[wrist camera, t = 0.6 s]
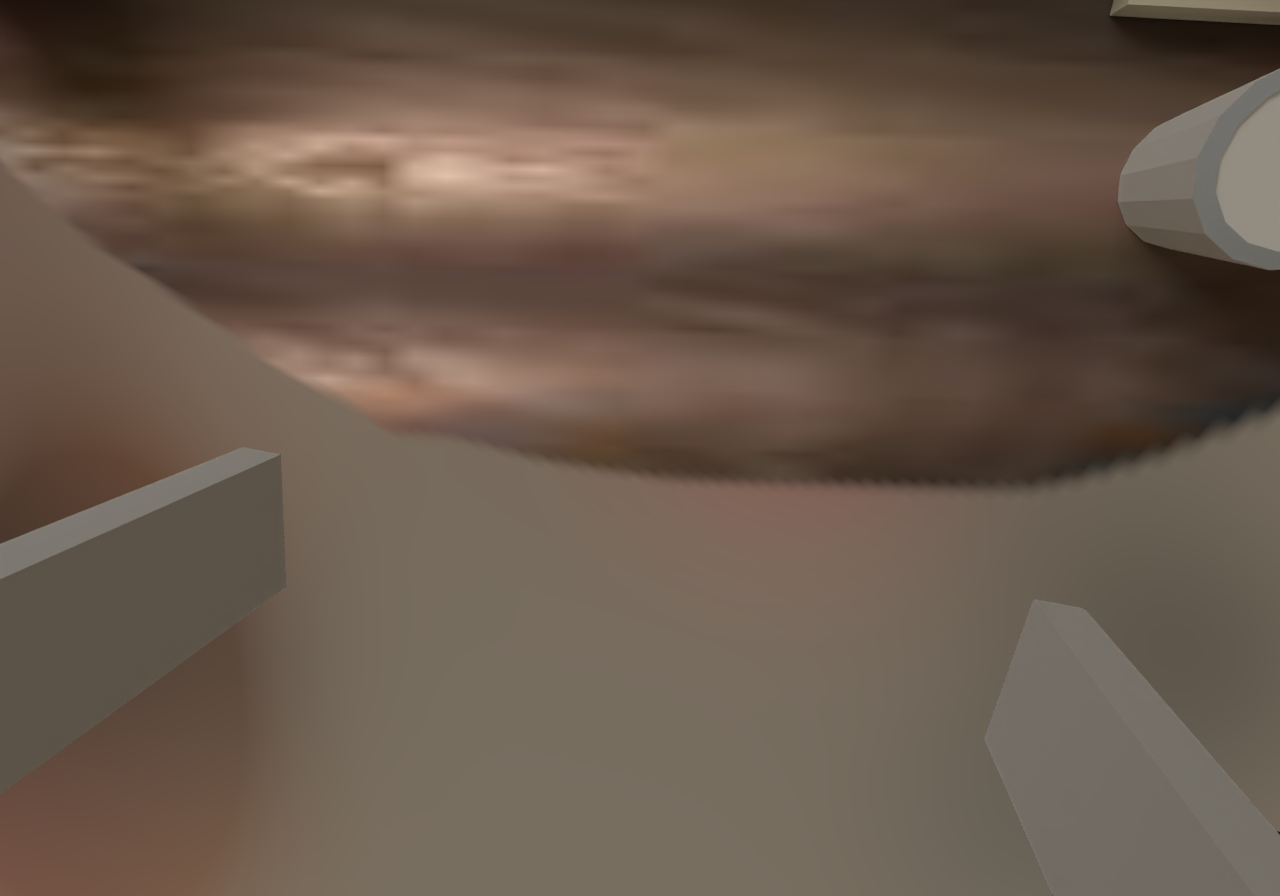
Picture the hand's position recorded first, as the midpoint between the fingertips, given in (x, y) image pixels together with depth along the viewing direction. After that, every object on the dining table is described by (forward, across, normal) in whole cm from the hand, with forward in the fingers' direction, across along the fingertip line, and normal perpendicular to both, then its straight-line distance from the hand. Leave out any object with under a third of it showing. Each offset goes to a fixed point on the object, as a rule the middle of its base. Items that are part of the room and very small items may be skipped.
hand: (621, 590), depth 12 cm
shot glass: (+25, +19, +11) cm, 33 cm away
